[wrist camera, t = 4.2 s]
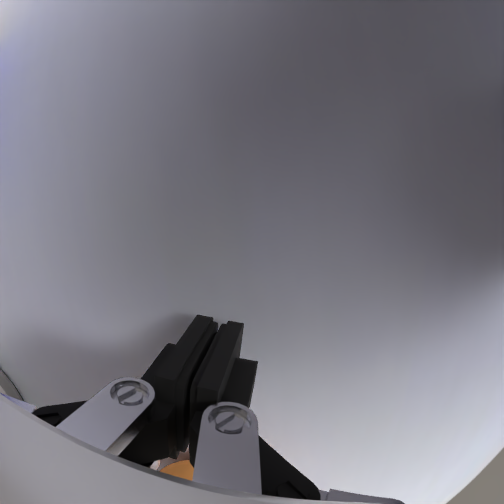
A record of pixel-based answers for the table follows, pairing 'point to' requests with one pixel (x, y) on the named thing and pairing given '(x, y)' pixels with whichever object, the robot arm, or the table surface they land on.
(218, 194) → the table surface
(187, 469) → the ball
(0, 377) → the travel mug
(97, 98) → the table surface
